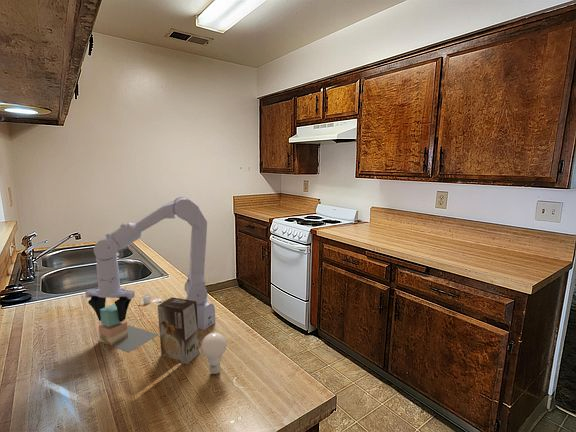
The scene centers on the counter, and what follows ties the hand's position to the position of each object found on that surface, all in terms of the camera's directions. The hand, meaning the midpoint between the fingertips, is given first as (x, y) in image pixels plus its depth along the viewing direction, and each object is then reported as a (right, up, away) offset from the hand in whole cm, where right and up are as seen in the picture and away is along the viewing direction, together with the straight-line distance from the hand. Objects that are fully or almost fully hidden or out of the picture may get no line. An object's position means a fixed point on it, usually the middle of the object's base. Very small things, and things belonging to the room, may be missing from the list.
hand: (112, 319), depth 99 cm
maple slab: (0, -6, +1) cm, 6 cm away
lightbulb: (+35, -10, -14) cm, 39 cm away
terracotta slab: (0, -4, +1) cm, 4 cm away
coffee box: (+23, -9, -6) cm, 25 cm away
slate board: (+4, -7, +2) cm, 9 cm away
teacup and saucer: (+1, -4, +27) cm, 27 cm away
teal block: (0, -1, 0) cm, 1 cm away
